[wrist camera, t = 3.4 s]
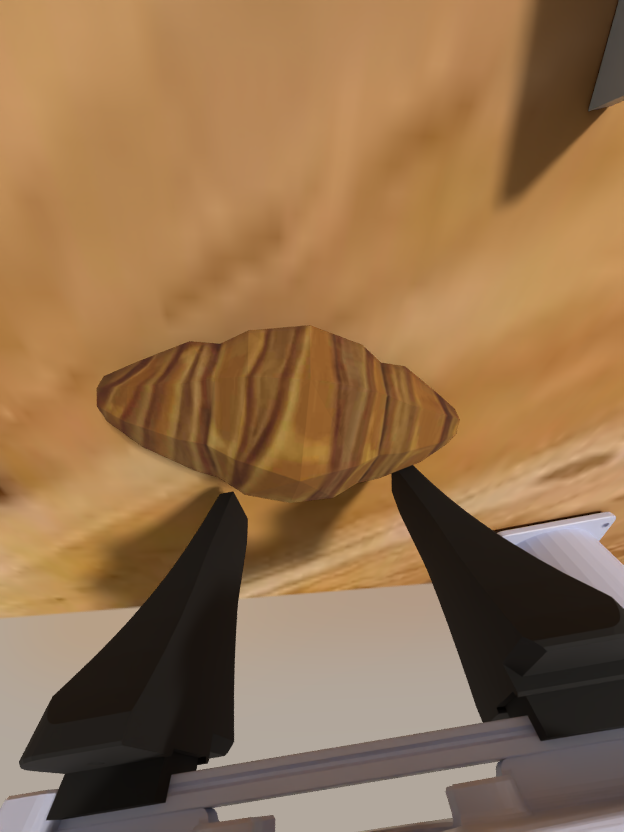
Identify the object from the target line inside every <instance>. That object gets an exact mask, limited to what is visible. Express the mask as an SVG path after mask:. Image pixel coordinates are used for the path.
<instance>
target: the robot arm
mask: <svg viewBox="0 0 624 832" xmlns="http://www.w3.org/2000/svg"><path fill="white" fill-rule="evenodd" d="M391 474H392V493H393V496H394V499H395V502H396V504H397V507H398V510H399V512H400V515H401V517H402V519H403V521H404V523H405V525H406V527H407V529H408V531H409V533H410V535H411V537H412V539H413V541H414V543H415V545H416V547H417V550H418V552H419V554H420V556H421V558H422V560H423V562H424V564H425V566H426V569H427V571H428V573H429V576H430V578H431V581H432V583H433V586H434V589H435V591H436V594H437V596H438V599H439V601H440V604H441V607H442V610H443V612H444V615H445V618H446V621H447V623H448V626H449V629H450V632H451V634H452V637H453V640H454V643H455V646H456V648H457V651H458V654H459V657H460V660H461V663H462V666H463V669H464V672H465V674H466V677H467V680H468V683H469V686H470V689H471V692H472V695H473V698H474V701H475V704H476V707H477V709H478V712H479V714H480V717H481V719H482V722H483V723H479V724H473V725H467V726H461V727H455V728H449V729H443V730H437V731H431V732H425V733H419V734H413V735H407V736H401V737H396V738H389V739H383V740H377V741H372V742H365V743H359V744H353V745H347V746H341V747H336V748H329V749H323V750H318V751H312V752H305V753H299V754H293V755H287V756H281V757H276V758H269V759H263V760H257V761H251V762H246V763H240V764H233V765H227V766H222V767H216V768H210V769H203V770H198V771H196V769H197V765H201V764H207V763H208V761H209V758H215V757H221V756H225V755H226V754H227V753H228V751H229V750H230V748H231V746H232V744H233V742H234V668H235V666H234V664H235V641H236V623H237V608H238V599H239V592H240V585H241V579H242V572H243V566H244V559H245V552H246V545H247V529H248V518H247V516H246V515H245V513H244V511H243V509H242V507H241V505H240V503H239V501H238V499H237V497H236V496H235V494H234V492H228V493H223V494H220V495H219V497H218V498H217V500H216V501H215V503H214V505H213V506H212V508H211V510H210V511H209V513H208V515H207V516H206V518H205V520H204V521H203V523H202V525H201V526H200V528H199V529H198V531H197V532H196V534H195V536H194V537H193V539H192V540H191V542H190V543H189V545H188V546H187V548H186V549H185V551H184V552H183V554H182V555H181V556H180V558H179V559H178V561H177V562H176V564H175V565H174V566H173V568H172V569H171V570H170V572H169V573H168V574H167V576H166V577H165V578H164V580H163V581H162V582H161V584H160V585H159V586H158V587H157V589H156V590H155V591H154V592H153V593H152V595H151V596H150V597H149V598H148V599H147V601H146V602H145V603H144V604H143V605H142V606H141V607H140V609H139V610H138V611H137V612H136V613H135V615H134V616H133V617H132V618H131V619H130V620H129V621H128V622H127V623H126V625H125V626H124V627H123V628H122V629H121V630H120V631H119V632H118V633H117V634H116V635H115V636H114V637H113V638H112V639H111V641H109V642H108V644H107V645H106V646H105V647H104V648H103V649H102V650H101V651H100V652H99V653H98V654H97V655H96V656H95V657H94V658H93V659H92V660H91V661H90V662H89V663H88V664H86V665H85V666H84V668H82V669H81V670H80V671H79V672H78V673H77V674H76V675H75V676H74V677H73V678H72V679H71V680H70V681H69V682H68V683H67V684H65V685H64V686H63V687H62V688H61V689H60V690H59V691H58V692H57V693H56V694H55V695H54V696H53V697H52V699H51V701H50V703H49V705H48V706H47V708H46V710H45V712H44V714H43V716H42V718H41V720H40V722H39V724H38V726H37V728H36V730H35V732H34V734H33V736H32V738H31V739H30V742H29V744H28V745H27V747H26V749H25V751H24V753H23V755H22V757H21V759H20V761H19V764H20V767H21V768H22V769H24V770H30V771H39V772H51V773H62V774H65V775H64V778H63V780H62V782H61V785H60V787H59V789H54V790H45V791H38V792H32V793H26V794H20V795H15V796H9V797H8V798H7V799H6V800H5V801H4V803H3V805H2V807H1V809H0V832H275V818H274V816H273V815H270V816H262V817H250V818H243V819H236V820H229V821H222V822H220V821H219V820H218V816H217V813H216V811H215V810H214V809H213V808H215V807H221V806H227V805H233V804H239V803H246V802H252V801H258V800H264V799H270V798H276V797H283V796H288V795H295V794H301V793H307V792H313V791H319V790H326V789H331V788H338V787H344V786H350V785H356V784H362V783H369V782H375V781H380V780H387V779H393V778H399V777H405V776H412V775H417V774H424V773H430V772H436V771H442V770H449V769H454V768H461V767H467V766H473V765H479V764H485V763H492V762H498V761H500V762H498V763H497V766H496V777H494V778H488V779H482V780H476V781H470V782H465V783H459V784H453V785H452V786H449V787H447V788H446V795H447V798H448V802H449V805H450V808H451V812H452V816H453V818H449V819H442V820H435V821H428V822H420V823H413V824H407V825H400V826H392V827H386V828H379V829H373V830H367V831H361V832H624V565H623V564H622V563H621V562H620V561H619V560H618V559H617V558H616V557H614V556H613V555H612V554H611V553H610V552H609V551H608V550H607V549H606V548H605V547H604V546H603V545H602V544H601V543H600V542H599V540H600V539H601V538H602V536H603V535H604V534H605V533H606V531H607V530H608V529H609V527H610V526H611V525H612V523H613V522H614V521H615V519H616V516H614V515H613V514H612V513H611V512H602V513H597V514H591V515H586V516H581V517H575V518H570V519H564V520H559V521H553V522H548V523H542V524H537V525H532V526H526V527H521V528H515V529H510V530H504V531H500V532H498V533H496V532H494V531H493V530H491V529H490V528H488V527H487V526H485V525H484V524H483V523H481V522H480V521H478V520H477V519H476V518H474V517H473V516H471V515H470V514H469V513H467V512H466V511H465V510H464V509H462V508H461V507H460V506H458V505H457V504H456V503H455V502H453V501H452V500H451V499H450V498H449V497H447V496H446V495H445V494H444V493H443V492H442V491H440V490H439V489H438V488H437V487H436V486H435V485H433V484H432V483H431V482H430V481H429V480H428V479H427V478H426V477H425V476H424V475H423V474H422V473H421V472H419V471H418V470H417V469H416V468H415V467H414V466H413V465H411V466H409V467H406V468H404V469H401V470H399V471H396V472H393V473H391Z"/></svg>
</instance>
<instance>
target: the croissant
mask: <svg viewBox="0 0 624 832" xmlns="http://www.w3.org/2000/svg"><path fill="white" fill-rule="evenodd" d="M97 407H98V408H99V410H100V411H101V413H102V414H103V416H104V417H105V419H106V420H107V421H108V422H109V423H110V424H112V425H113V426H115V427H116V428H117V429H119V430H120V431H122V432H123V433H124V434H126V435H127V436H128V437H130V438H131V439H133V440H134V441H135V442H137V443H138V444H140V445H141V446H142V447H144V448H147V449H149V450H151V451H153V452H155V453H158V454H160V455H162V456H164V457H166V458H169V459H171V460H173V461H175V462H177V463H180V464H182V465H184V466H186V467H188V468H191V469H193V470H195V471H199V472H202V473H206V474H209V475H212V476H216V477H219V478H221V479H222V480H224V481H225V482H227V483H228V484H230V485H231V486H233V487H234V488H236V489H237V490H239V491H240V492H242V493H243V494H245V495H249V496H255V497H260V498H266V499H272V500H277V501H283V502H288V503H294V502H302V501H310V500H318V499H326V498H334V497H336V496H337V495H339V494H340V493H342V492H344V491H345V490H347V489H348V488H350V487H352V486H353V485H355V484H356V483H360V482H364V481H369V480H374V479H378V478H381V477H383V476H386V475H388V474H391V473H393V472H396V471H399V470H401V469H404V468H406V467H409V466H411V465H414V464H416V463H419V462H421V461H422V460H424V459H425V458H427V457H428V456H430V455H431V454H433V453H434V452H436V451H437V450H439V449H440V448H442V447H443V446H445V445H446V444H447V443H448V442H449V441H450V440H451V439H452V438H453V437H454V435H455V434H456V433H457V428H458V424H459V420H460V419H459V417H458V415H457V413H456V411H455V409H454V408H453V407H452V406H451V405H450V404H449V403H447V402H446V401H445V400H444V399H443V398H442V397H441V396H440V395H439V394H437V393H436V392H435V391H434V390H433V389H432V388H430V387H429V386H428V385H427V384H425V383H424V382H423V381H422V380H421V379H419V378H418V377H417V376H416V375H415V374H413V373H412V372H411V371H410V370H409V369H407V368H406V367H405V366H398V365H392V364H386V363H381V362H380V361H379V360H378V359H376V358H375V357H374V356H373V355H372V354H371V353H370V352H369V351H368V350H367V349H366V348H365V347H364V346H363V345H361V344H358V343H356V342H353V341H350V340H348V339H345V338H342V337H340V336H337V335H334V334H332V333H329V332H326V331H324V330H321V329H318V328H316V327H313V326H310V325H309V326H297V327H285V328H274V329H262V330H250V331H247V332H245V333H242V334H240V335H238V336H236V337H234V338H232V339H230V340H228V341H225V342H223V343H221V344H214V343H202V342H190V341H189V342H187V343H184V344H182V345H179V346H177V347H174V348H171V349H169V350H166V351H164V352H161V353H159V354H156V355H154V356H151V357H149V358H146V359H143V360H141V361H138V362H136V363H134V364H131V365H129V366H127V367H124V368H122V369H120V370H117V371H115V372H113V373H110V374H108V375H106V376H104V377H103V378H102V380H101V382H100V383H99V385H98V387H97Z"/></svg>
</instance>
